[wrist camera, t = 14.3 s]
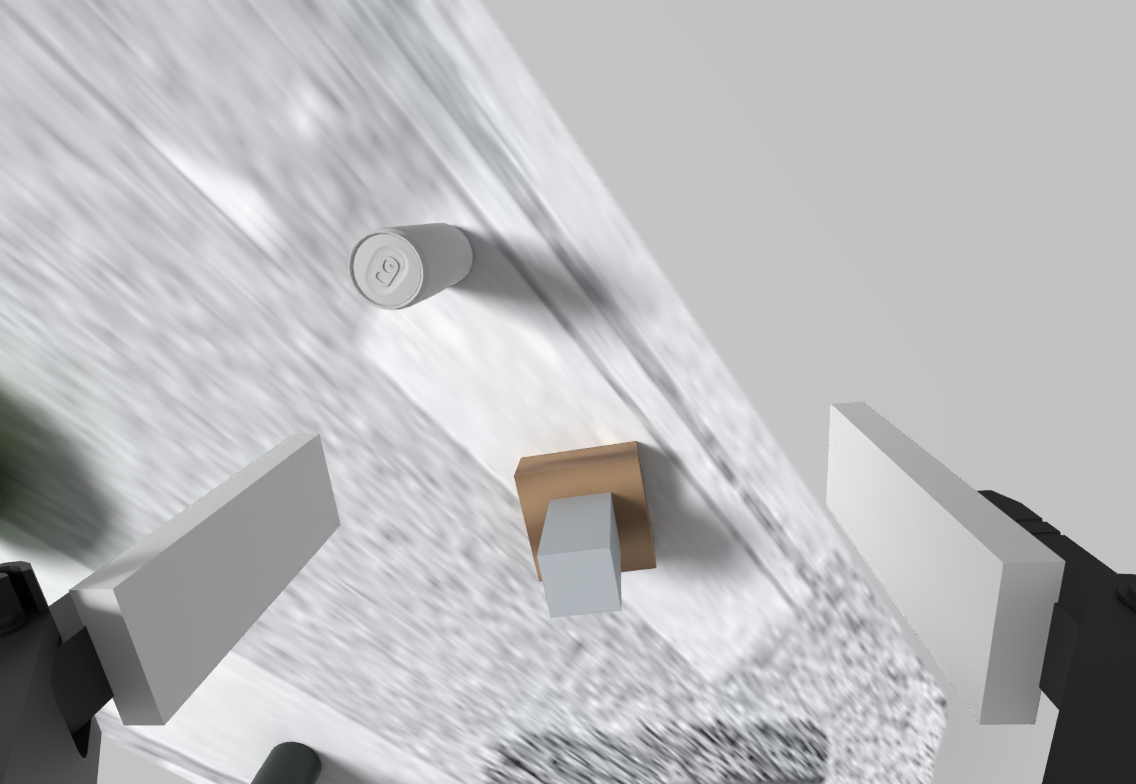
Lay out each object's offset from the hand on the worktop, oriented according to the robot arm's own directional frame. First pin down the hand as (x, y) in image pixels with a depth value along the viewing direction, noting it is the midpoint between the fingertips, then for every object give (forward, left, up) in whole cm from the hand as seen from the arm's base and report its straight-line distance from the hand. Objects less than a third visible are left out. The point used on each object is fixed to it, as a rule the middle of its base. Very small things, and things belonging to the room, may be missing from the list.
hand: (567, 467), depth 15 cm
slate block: (+18, -3, -28) cm, 34 cm away
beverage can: (-4, -12, -32) cm, 34 cm away
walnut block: (+18, -2, -32) cm, 37 cm away
